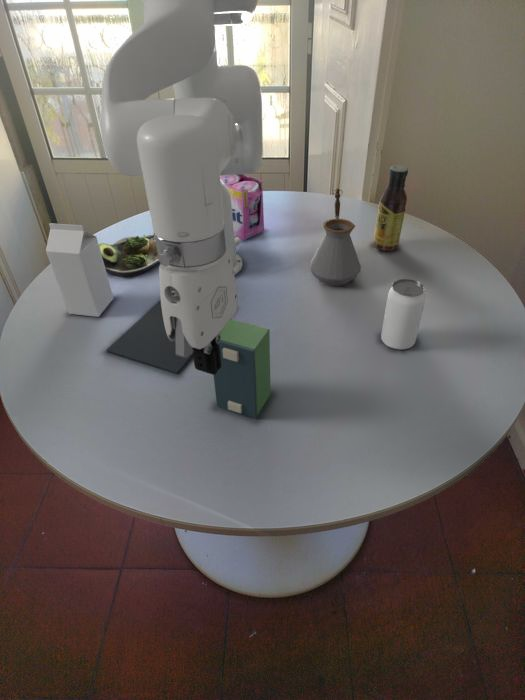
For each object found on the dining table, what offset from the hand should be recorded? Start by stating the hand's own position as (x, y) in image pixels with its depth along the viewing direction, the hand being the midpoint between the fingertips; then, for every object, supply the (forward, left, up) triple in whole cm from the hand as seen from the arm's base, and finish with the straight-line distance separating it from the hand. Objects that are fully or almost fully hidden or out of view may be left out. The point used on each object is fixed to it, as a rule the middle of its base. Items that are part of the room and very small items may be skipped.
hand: (208, 368), depth 63 cm
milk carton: (-21, -43, -15) cm, 50 cm away
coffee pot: (-57, 0, -15) cm, 59 cm away
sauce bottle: (-71, +9, -15) cm, 73 cm away
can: (-35, +20, -15) cm, 43 cm away
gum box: (-68, -35, -15) cm, 78 cm away
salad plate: (-41, -48, -15) cm, 65 cm away
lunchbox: (-9, 0, -15) cm, 18 cm away
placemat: (-21, -22, -15) cm, 34 cm away
